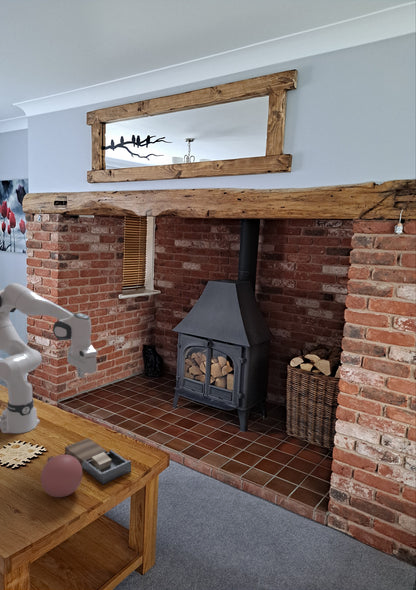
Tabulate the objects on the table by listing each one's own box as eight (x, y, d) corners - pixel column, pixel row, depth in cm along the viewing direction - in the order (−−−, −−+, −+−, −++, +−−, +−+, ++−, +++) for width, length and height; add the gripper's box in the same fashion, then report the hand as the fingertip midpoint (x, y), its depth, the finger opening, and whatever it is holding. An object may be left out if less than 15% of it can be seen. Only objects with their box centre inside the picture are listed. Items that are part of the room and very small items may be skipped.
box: (82, 468, 185) (82, 458, 184) (109, 456, 195) (109, 446, 194) (103, 485, 174) (103, 473, 173) (130, 471, 184) (131, 461, 184)
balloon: (71, 472, 182) (71, 438, 180) (88, 497, 166) (88, 460, 164) (33, 483, 173) (32, 448, 171) (47, 511, 157) (46, 473, 155)
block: (91, 462, 187) (92, 456, 186) (103, 457, 191) (103, 452, 190) (98, 470, 183) (99, 464, 182) (110, 465, 187) (111, 459, 187)
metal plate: (65, 452, 197) (65, 446, 196) (88, 443, 205) (88, 438, 205) (83, 467, 186) (83, 460, 186) (107, 457, 195) (107, 451, 194)
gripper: (63, 344, 203) (63, 372, 205) (86, 355, 189) (86, 385, 191) (75, 342, 207) (75, 369, 209) (99, 352, 193) (98, 381, 196)
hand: (80, 377), depth 200 cm, fingers closed
